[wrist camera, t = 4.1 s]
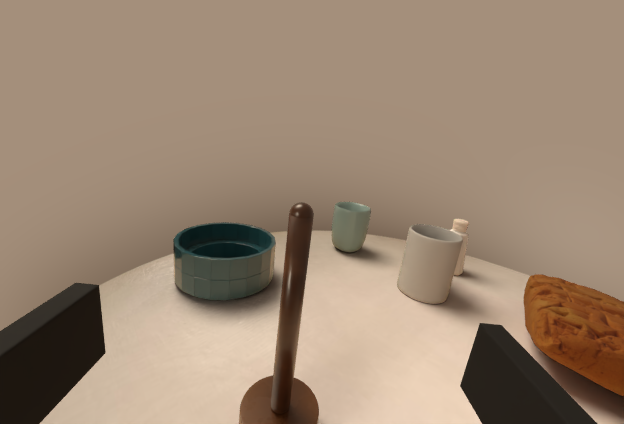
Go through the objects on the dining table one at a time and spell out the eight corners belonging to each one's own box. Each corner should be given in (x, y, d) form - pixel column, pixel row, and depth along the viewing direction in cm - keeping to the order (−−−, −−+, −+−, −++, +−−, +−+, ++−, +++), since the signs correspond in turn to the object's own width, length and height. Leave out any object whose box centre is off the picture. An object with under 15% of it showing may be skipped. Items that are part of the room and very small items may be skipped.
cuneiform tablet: (745, 485, 25) (799, 414, 23) (512, 374, 34) (534, 316, 32) (654, 348, 42) (680, 301, 40) (516, 300, 52) (531, 259, 50)
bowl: (160, 305, 39) (159, 257, 37) (187, 256, 53) (187, 220, 51) (274, 304, 42) (278, 261, 40) (270, 258, 56) (273, 224, 54)
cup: (369, 250, 66) (377, 208, 63) (351, 259, 60) (358, 213, 58) (342, 239, 71) (348, 200, 68) (322, 246, 65) (328, 204, 62)
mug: (442, 311, 45) (460, 246, 42) (390, 290, 50) (403, 230, 47) (453, 283, 55) (468, 229, 52) (409, 267, 60) (420, 217, 57)
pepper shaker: (468, 275, 60) (483, 224, 57) (448, 276, 58) (462, 224, 55) (448, 263, 64) (461, 216, 61) (429, 264, 62) (441, 216, 60)
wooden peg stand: (235, 483, 21) (251, 214, 15) (240, 402, 27) (253, 188, 21) (321, 473, 22) (365, 221, 16) (308, 397, 28) (337, 195, 22)
